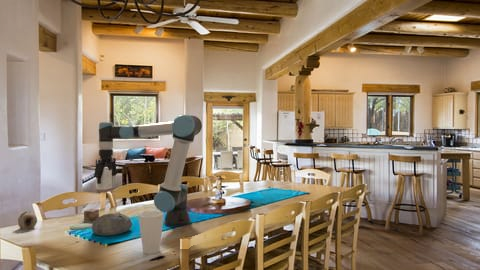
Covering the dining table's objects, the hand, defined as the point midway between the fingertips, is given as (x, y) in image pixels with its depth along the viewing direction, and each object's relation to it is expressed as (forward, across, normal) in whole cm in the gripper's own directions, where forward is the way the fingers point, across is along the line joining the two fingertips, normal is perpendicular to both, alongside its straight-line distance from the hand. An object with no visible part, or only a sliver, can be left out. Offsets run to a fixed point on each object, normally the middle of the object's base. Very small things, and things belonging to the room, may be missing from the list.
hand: (106, 188), depth 202 cm
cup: (+21, +27, +50) cm, 61 cm away
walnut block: (+22, -6, -17) cm, 28 cm away
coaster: (+22, +8, -11) cm, 25 cm away
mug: (0, 0, 0) cm, 1 cm away
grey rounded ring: (+22, +20, -37) cm, 47 cm away
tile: (+22, -6, -17) cm, 28 cm away
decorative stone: (+22, +9, +12) cm, 27 cm away
